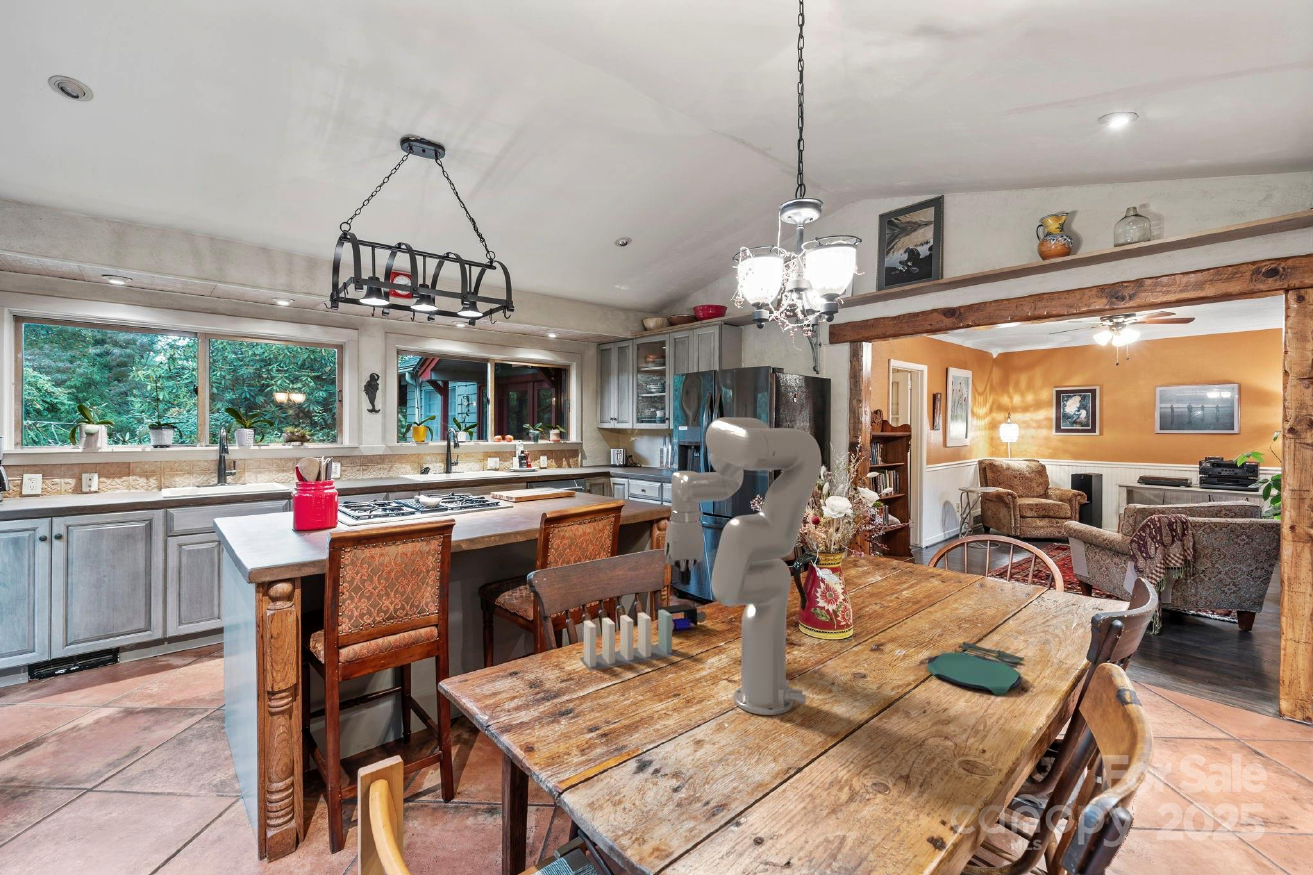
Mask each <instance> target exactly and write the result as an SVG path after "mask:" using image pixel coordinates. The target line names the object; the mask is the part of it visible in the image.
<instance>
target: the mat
mask: <svg viewBox="0 0 1313 875" xmlns="http://www.w3.org/2000/svg"><path fill="white" fill-rule="evenodd" d="M675 656H678V654H677V652H675V651H674V650H672V653H668V654H666V653H665V652H664V651H662V650H661V649H660V648H659V647H658V643H657V644H651V656H650V657H644V656H643V655H642V654H641V653H640V652H639V651H638V647H633V660H628V661H627V660H626V659H625V658H624V657H623V656H622V655H621V654H620V650H615V663H612V664H608V663H607V661H606V660H605V659H604V658H603V657H602V653H600V654H596V667H589V666H588V665H587V663H586V662H585V661H584V656H582V657H581V656H580V657H578V659H579V660H580V662H581V663H582V664H583V665H584V666H585V667H586V669H587V670H588V671H589V672H594V671H599V670H605V669H609V668H615V667H620V666H626V665H631V664H632V665H633V664H636V663H643V662H647V661H653V660H660V659H663V658H669V657H675Z"/></svg>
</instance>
